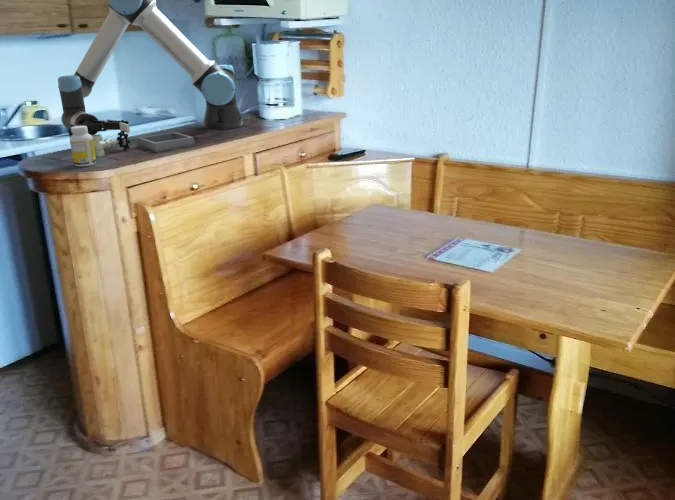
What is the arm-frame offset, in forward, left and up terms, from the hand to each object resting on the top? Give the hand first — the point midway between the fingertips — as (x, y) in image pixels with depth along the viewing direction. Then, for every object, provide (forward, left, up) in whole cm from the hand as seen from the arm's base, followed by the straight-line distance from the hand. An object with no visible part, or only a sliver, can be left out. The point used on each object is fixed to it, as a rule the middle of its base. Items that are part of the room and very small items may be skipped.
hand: (108, 131), depth 213 cm
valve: (0, -2, -8) cm, 8 cm away
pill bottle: (+12, +9, -7) cm, 17 cm away
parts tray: (-18, +3, -7) cm, 20 cm away
